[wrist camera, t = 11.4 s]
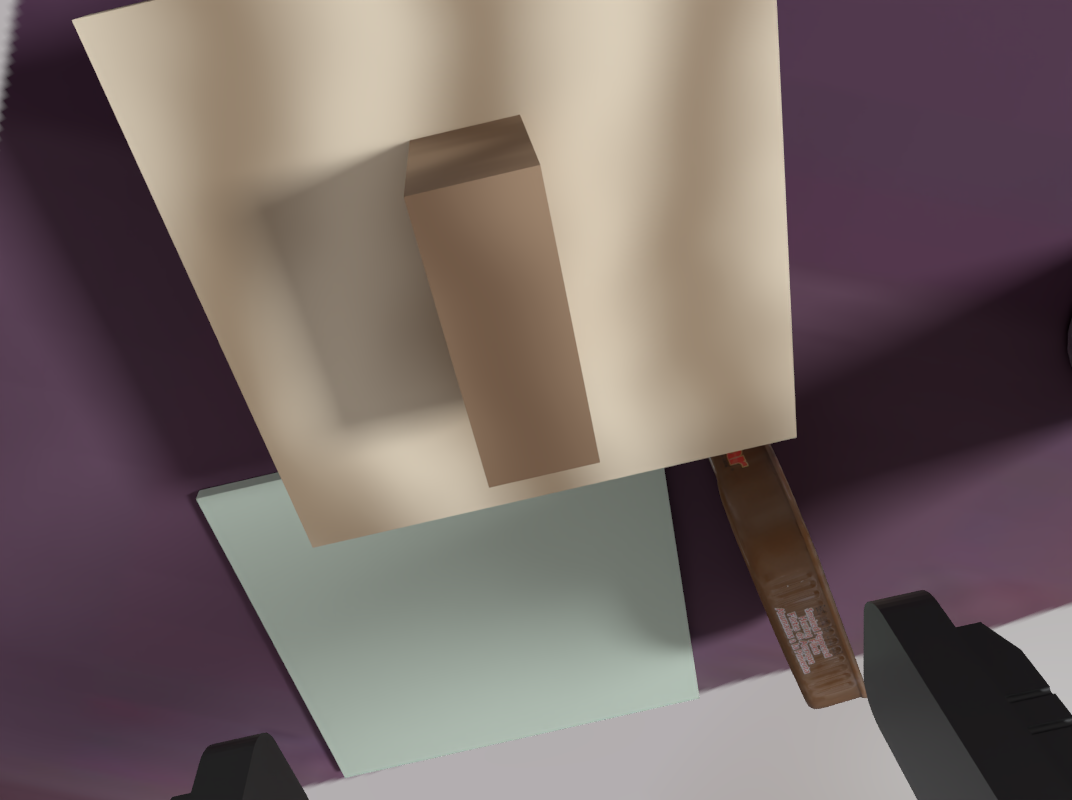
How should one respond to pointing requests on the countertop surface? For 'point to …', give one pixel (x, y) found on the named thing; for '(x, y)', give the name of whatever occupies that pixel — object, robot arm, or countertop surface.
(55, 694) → the countertop surface
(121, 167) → the countertop surface
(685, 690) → the mat
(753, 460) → the tin
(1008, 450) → the countertop surface
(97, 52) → the cover board
